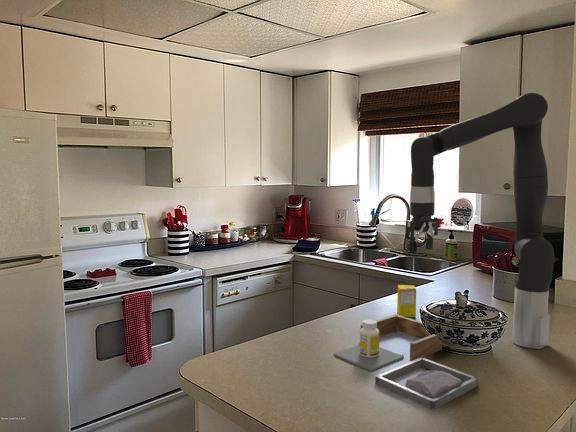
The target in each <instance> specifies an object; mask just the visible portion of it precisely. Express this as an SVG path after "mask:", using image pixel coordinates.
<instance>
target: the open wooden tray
mask: <svg viewBox="0 0 576 432" xmlns="http://www.w3.org/2000/svg"><path fill="white" fill-rule="evenodd" d="M375 321H377V327H376V328H377V329H378V330H379V337H381V336H385V335H388V334H391V333H394V332H396V331H397V332H399V333H402V334H405V335H408V336H411V337H414V338H417V340H415V341H412V342H411V341H410V343H409V361H410V362H411V361H413V360H415V359H418V358H420V357H422V358H425V357H427V356H429V355H432V354H434V353H437V352H439V351H441V350H443V349H442V341H441V340H440V339H439V338H438V337H437V335H435V334H432V335H431V334H429V333H428V332H427V331H426V329H425V328H424V326H423V324H422V321H419V320H416V319H410V318H406V317H403V316H400V315H398V314H397V313H396V314H393V315H390V316H387V317H383V318H380V319H376V320H375ZM362 328H363V324H361V325H360V330H361V329H362ZM360 330H359V331H360Z"/></svg>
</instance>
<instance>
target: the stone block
mask: <svg viewBox="0 0 576 432" xmlns="http://www.w3.org/2000/svg"><path fill="white" fill-rule="evenodd" d="M460 384H462V382H461V380H460V379H458V378H456V377H455V376H452V375H451V374H449V373H446V372H443V371H436V370H434V371H433V370H430V369H429V370H426V371H423V372H420V373H418V374H417V375H416V376H414V377H411V378H408V379H406V382H405V387H406V388H409V389H411V390H413V391H415V392H418V393H420V394H422V395H425V396H427V397H429V398H431V399H433V398H435V397H437V396H439V395H441V394H442V393H444V392H446V391H448V390H450V389H452V388H454V387H456V386H458V385H460Z"/></svg>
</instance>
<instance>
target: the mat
mask: <svg viewBox="0 0 576 432" xmlns="http://www.w3.org/2000/svg"><path fill="white" fill-rule="evenodd" d="M333 356H334V357H337V358H339V359H341V360H343V361H346V362H348V363H350V364H353V365H354V366H357V367H359V368H362V369H364V370H366V371H368V372H370V373H371V372H374V371H375V370H378V369H381V368H383V367H386V366H389V365H391V364H394V363H396V362H398V361H400V360H403V359H404V357H405V356H404V355H401V354H399V353H397V352H393V351H391V350H388V349H386V348H384V347H381V346H379V355H378V356H377V357H375V358H367V357H363V356H361V354H360V344H357V345H354V346H351V347H349V348H345V349H342V350H340V351H337V352H334V353H333Z"/></svg>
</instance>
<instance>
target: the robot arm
mask: <svg viewBox="0 0 576 432" xmlns="http://www.w3.org/2000/svg"><path fill="white" fill-rule="evenodd" d="M548 109H549V104H548V101H547V99H546V98H545V97H544V96H543V95H541V94H539V93H535V92H527V93H524V94H522V95H520V96H518V97H517V98H516V99H514V100H512V101H511V102H509V103H507V104H505V105H504V106H502V107H499V108H497V109H495V110H493V111H490V112H487V113H484V114H481V115H479V116H478V115H477V116H476V117H472V118H470V119H466V120H463V121H461V122H458V123H455V124H452V125H450V126H447V127H445V128H443V129H441V130H440V131H438V132H434V133H431V134H429V135H426V136H419V137H416V138H415V139H414V140H413V141H412V143H411V146H410V162H411V163H410V164H411V174H410V178H411V179H410V195H409V216H411V217H412V220H409V219H408V220H406V221H405V231H404V239H405V240H408V241H409V252H410V253H411V254H417V253H418V239H419V237H420V236H421V235H422V234H424V235H425V237H426V238H425V249H426V250H429V251H431V250H433V248H434V238H435V237H436V236H438V235H439V230H438V229H439V228H438V227H439V225H438V217H436V216H435V206H436V205H435V201H436V200H435V198H436V197H435V196H436V194H435V193H436V191H435V172H434V162H435V161H434V157H435V156H438V155H440V154H442V153H443V154H444V153H445V152H446V151H452V150H456V149H458V148H461V147H463V146H467V145H469V144H472V143H474V142H477V141H479V140H481V139H484V138H485V137H488V136H491V135H493V134H496V133H498V132H501V131H504V130H508V129H511V128H512V130H513V131H512V133H513V139H514V141H513V142H514V151H513V164H512V165H513V170H512V171H513V172H512V176H513V178H512V180H513V181H512V182H513V195H514V207H515V208H514V209H515V217H516V218H515V219H516V221H515V222H516V224H515V237H514V238H515V239H514V253H515V256H516V258H517V259H518V260H519V270H518V275H517V277H516V278H515V281H514V282H515V284H514V297H513V298H514V299H513V300H514V303H513V318H512V335H511V337H512V338H511V342H512V343H514V344H515V345H517V346H520V347H522V348H527V349H536V350H541V349H544V348H545V347H547V346H549V338H550V323H551V315H550V314H549V313H548V310H549V309H548V308H549V293H550V285H551V283H552V280H553V273H554V265H555V264H554V262H555V250H554V247H553V245H552V244H551V243H550V241H549V240H546V239H545V237H544V232H543V231H544V229H543V214H544V210H545V206H546V202H547V198H548V191H549V176H548V174H549V173H548V166H547V160H546V156H545V152H544V148H543V143H542V125H543V123H542V122H543V119H544V118H545V116H546V115H547V112H548ZM434 216H435V217H434Z"/></svg>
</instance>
